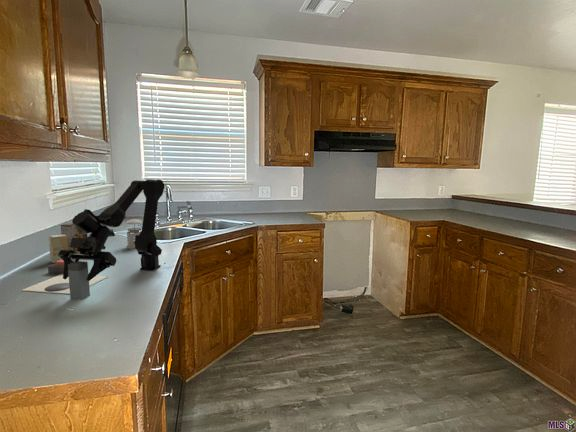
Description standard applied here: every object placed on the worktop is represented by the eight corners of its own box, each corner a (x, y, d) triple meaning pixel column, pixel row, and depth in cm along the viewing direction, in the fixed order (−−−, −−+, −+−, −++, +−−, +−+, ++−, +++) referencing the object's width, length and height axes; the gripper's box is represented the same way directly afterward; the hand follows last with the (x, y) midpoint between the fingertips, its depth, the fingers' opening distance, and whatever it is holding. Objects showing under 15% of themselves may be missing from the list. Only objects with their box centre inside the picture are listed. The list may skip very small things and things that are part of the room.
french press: (121, 247, 179) (118, 202, 175) (136, 242, 190) (134, 200, 186) (136, 249, 176) (133, 203, 172) (151, 244, 187) (149, 201, 183)
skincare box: (53, 263, 148) (51, 237, 146) (50, 261, 151) (47, 235, 149) (69, 260, 153) (67, 235, 151) (66, 258, 156) (64, 233, 154)
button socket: (80, 268, 142) (80, 261, 141) (65, 274, 134) (65, 267, 134) (63, 267, 143) (63, 260, 142) (48, 273, 135) (47, 266, 135)
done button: (72, 266, 140) (72, 259, 140) (65, 269, 136) (64, 262, 135) (64, 265, 140) (63, 258, 140) (55, 268, 136) (55, 261, 136)
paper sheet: (107, 277, 131) (107, 276, 131) (73, 294, 114) (73, 293, 113) (62, 274, 134) (62, 273, 134) (22, 290, 116) (21, 289, 116)
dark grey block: (90, 295, 113) (87, 261, 112) (81, 299, 109) (78, 265, 108) (79, 294, 114) (76, 261, 112) (70, 298, 110) (67, 264, 108)
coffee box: (78, 252, 167) (76, 221, 164) (89, 253, 165) (87, 222, 163) (62, 257, 158) (60, 224, 155) (74, 258, 156) (71, 225, 154)
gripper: (59, 226, 113) (34, 266, 104) (109, 229, 111) (87, 270, 102) (78, 243, 122) (56, 281, 113) (124, 246, 120) (106, 285, 111)
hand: (75, 279), depth 109 cm, fingers open, 8 cm apart
